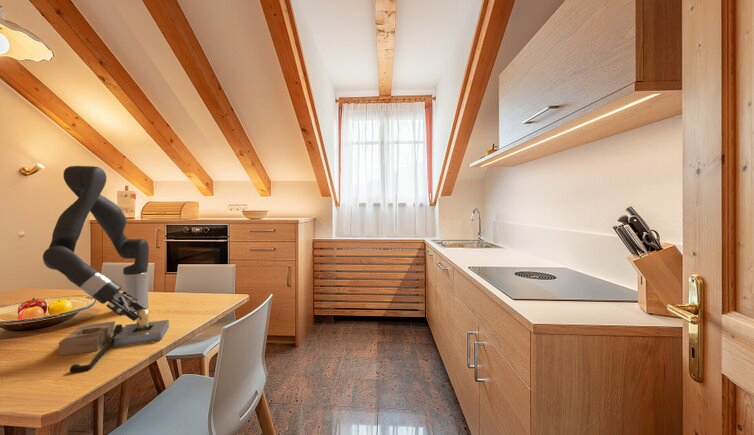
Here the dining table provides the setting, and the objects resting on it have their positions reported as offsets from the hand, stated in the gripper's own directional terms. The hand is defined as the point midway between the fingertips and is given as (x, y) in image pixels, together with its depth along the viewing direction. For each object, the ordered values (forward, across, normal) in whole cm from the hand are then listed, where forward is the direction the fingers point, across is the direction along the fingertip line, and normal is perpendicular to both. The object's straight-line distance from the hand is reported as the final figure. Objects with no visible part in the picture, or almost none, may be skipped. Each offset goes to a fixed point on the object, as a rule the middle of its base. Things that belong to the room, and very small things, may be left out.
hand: (140, 314), depth 121 cm
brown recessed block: (-5, 0, +17) cm, 17 cm away
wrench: (0, -9, +13) cm, 16 cm away
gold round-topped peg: (+6, 0, +5) cm, 8 cm away
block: (+6, 0, +5) cm, 8 cm away
